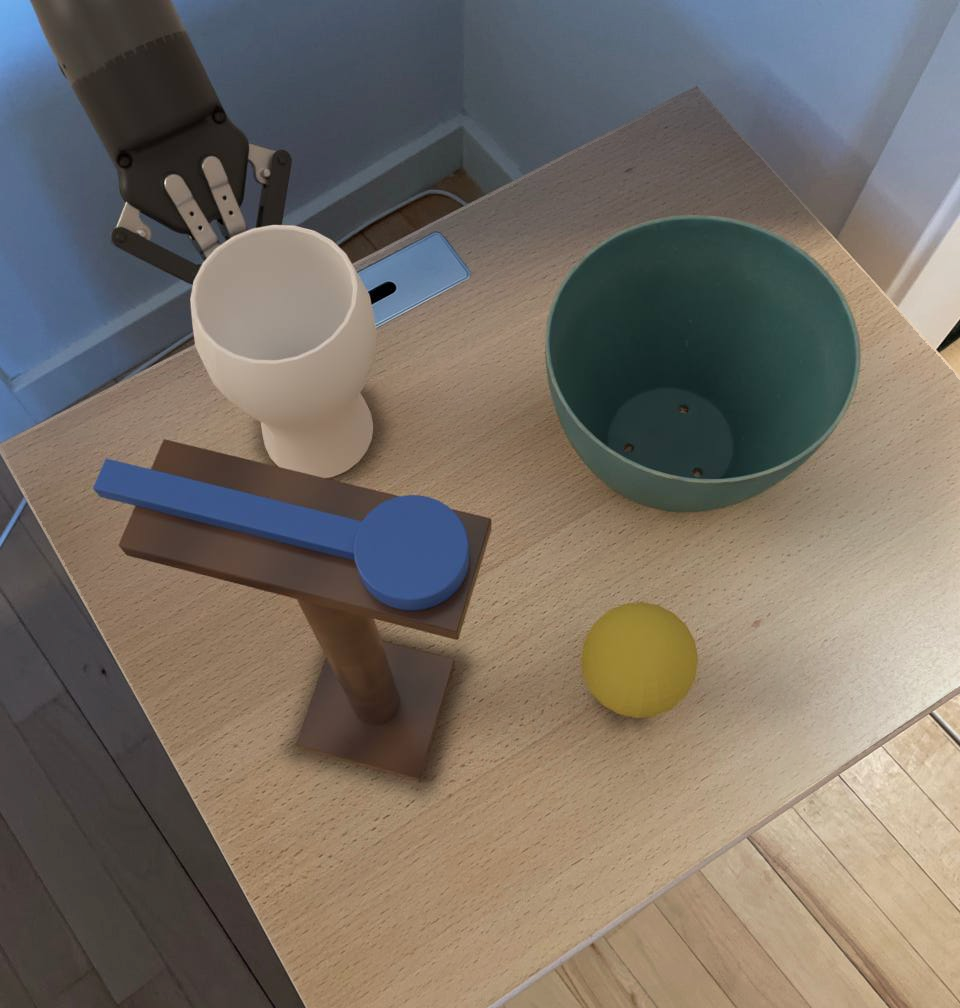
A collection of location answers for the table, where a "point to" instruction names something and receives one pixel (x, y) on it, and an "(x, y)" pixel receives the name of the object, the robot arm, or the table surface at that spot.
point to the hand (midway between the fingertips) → (267, 329)
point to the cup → (289, 343)
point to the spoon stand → (322, 607)
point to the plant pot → (699, 360)
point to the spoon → (320, 530)
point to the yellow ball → (639, 660)
